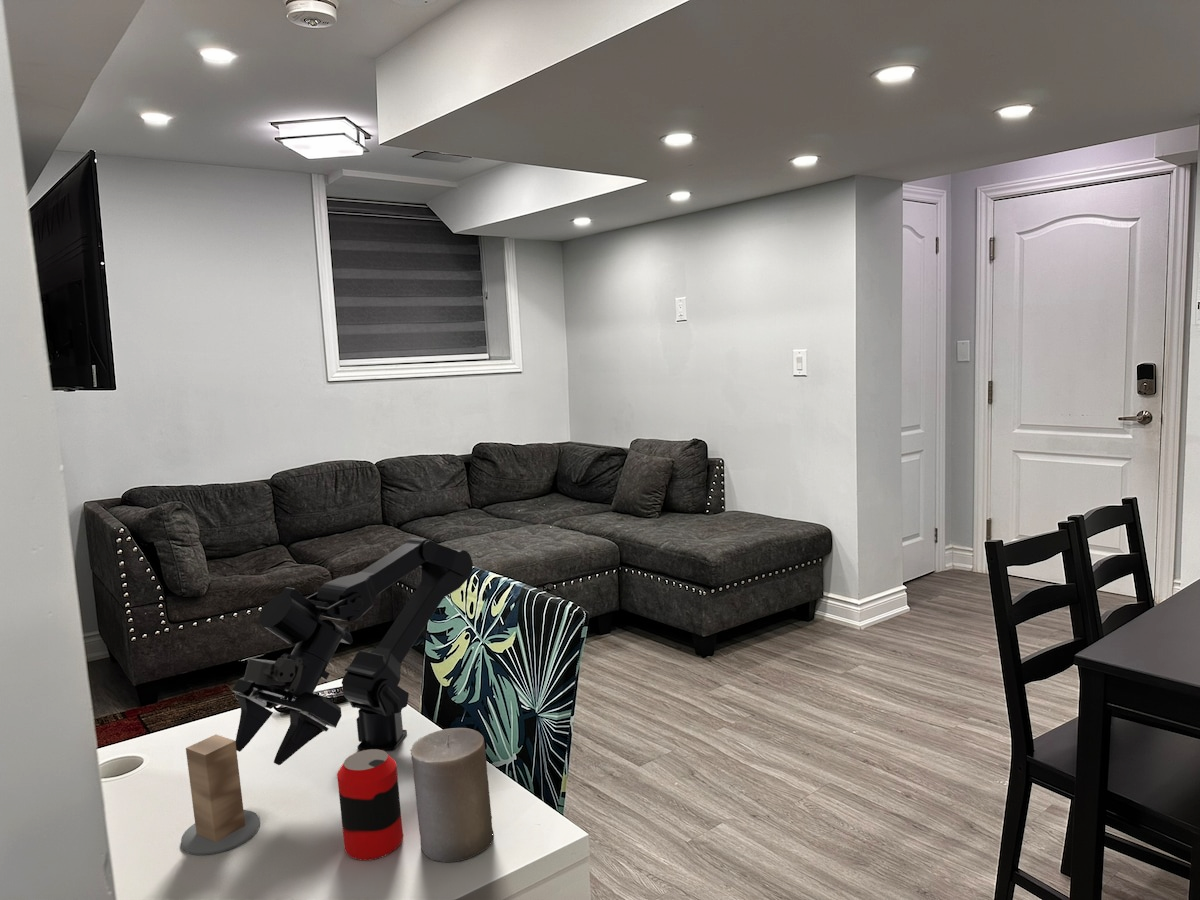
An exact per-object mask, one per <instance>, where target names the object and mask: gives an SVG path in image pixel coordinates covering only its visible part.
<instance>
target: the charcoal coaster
mask: <svg viewBox="0 0 1200 900" xmlns="http://www.w3.org/2000/svg"><path fill="white" fill-rule="evenodd" d="M243 810H244V819H245V826H243V827H242V828H240V829H238V830H236V831H235V832H233V833H231V834H230V835H228V836H226V837H224V838H223V839H221V840H219V841H217V842H214V841H212V840H210V839H207V838H205V837H203V836H201V835H198V834H196V826H195V823H192V825H190V826H189V827H188V828H187V829H186V830H185V831H184V833H183V834H182V836H181V839H180V842H181V847H182V849H183V850H184V852H186V853H187V854H190V855H195V856H207V855H208V856H209V855H215V854H219V853H224V852H226V851H230V850H232V849H234V848H237V847H240V845H243V844H244V843H247V842H248V841H249V840H250V839H252V838H253V837H254V836H255V835H256V834H257V832H258V831H259V830H260V827H261V820H260V816H259V815H258V814H257V813H256V812H254V811H252V810H248V809H243Z"/></svg>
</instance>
